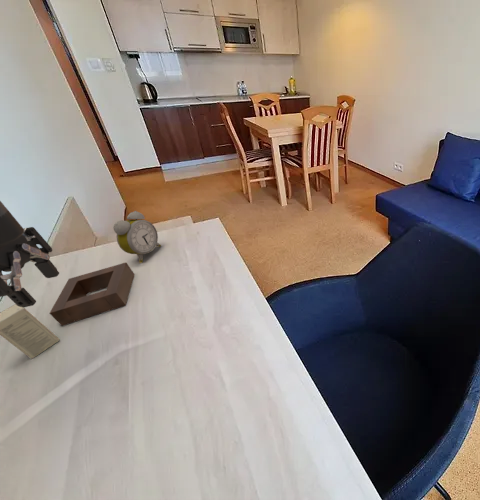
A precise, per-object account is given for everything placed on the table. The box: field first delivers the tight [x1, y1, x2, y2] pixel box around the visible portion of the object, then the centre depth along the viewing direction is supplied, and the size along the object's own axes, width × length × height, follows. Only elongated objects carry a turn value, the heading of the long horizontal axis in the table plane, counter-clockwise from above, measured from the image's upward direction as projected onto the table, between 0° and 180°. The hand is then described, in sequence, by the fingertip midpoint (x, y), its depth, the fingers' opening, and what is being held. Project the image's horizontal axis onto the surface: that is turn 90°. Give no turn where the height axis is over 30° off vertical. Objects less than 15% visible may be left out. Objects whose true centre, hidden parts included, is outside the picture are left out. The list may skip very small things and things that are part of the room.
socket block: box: [49, 262, 135, 327], centre depth 88 cm, size 16×16×5 cm
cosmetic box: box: [0, 303, 60, 360], centre depth 72 cm, size 6×4×12 cm
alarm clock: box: [112, 210, 162, 263], centre depth 102 cm, size 12×7×15 cm, turn 171°
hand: (42, 289), depth 59 cm, fingers open, 8 cm apart
